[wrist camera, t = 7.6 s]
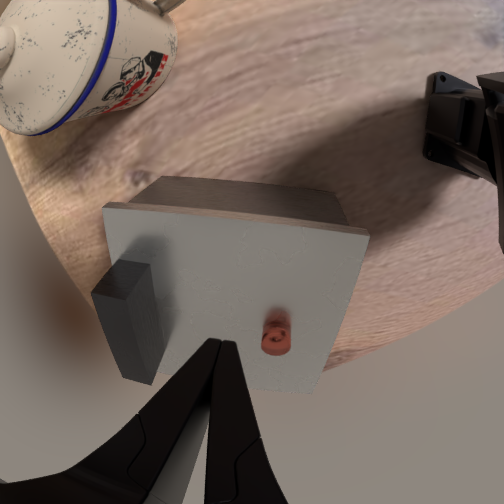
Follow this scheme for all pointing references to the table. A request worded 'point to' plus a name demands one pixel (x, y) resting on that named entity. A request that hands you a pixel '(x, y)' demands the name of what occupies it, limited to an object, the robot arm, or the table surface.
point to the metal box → (244, 198)
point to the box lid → (225, 290)
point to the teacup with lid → (81, 59)
